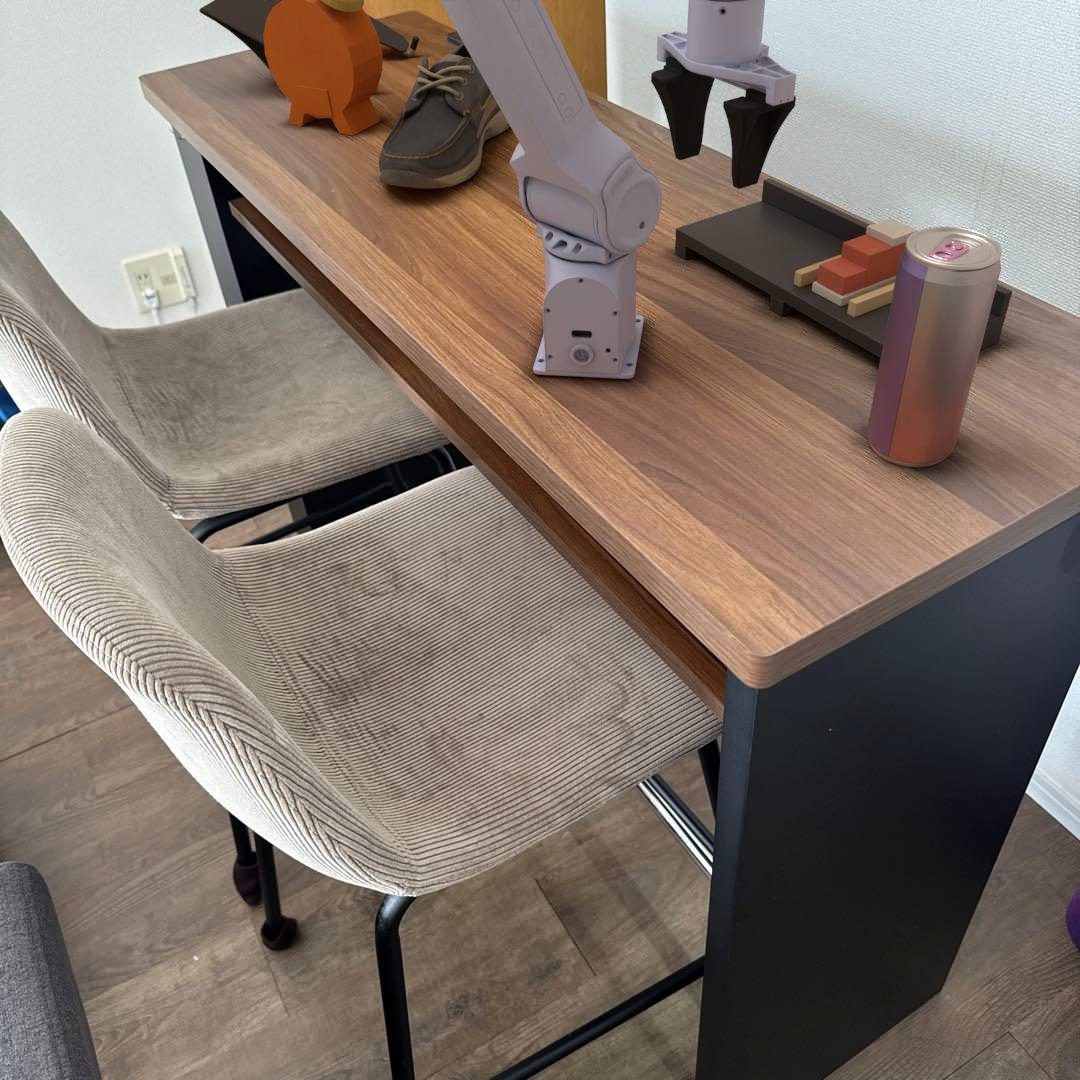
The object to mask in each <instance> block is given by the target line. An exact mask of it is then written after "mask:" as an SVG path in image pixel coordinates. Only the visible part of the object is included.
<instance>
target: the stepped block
mask: <svg viewBox="0 0 1080 1080" xmlns="http://www.w3.org/2000/svg"><path fill="white" fill-rule="evenodd" d="M917 231H918V230H917V229H915V228H914V227H911V226H908V225H906V224H905V223H902V222H900V221H898V220H895V219H893V218H891V217H889V218H886V219H883V220H880V221H878V222H874V223H873V224H869V226H867V230H866V235H863V236H860V237H857V238H855V239H852V240H849V241H846V242H844V243H843V247H842V253H841V257H839V258H836V259H834V260H831V261H828V262H825V263H823V264H820V265H819V271H818V278H817V281H815V282H813V285H812V291H813V292H815V293H817V294H819V295H820V296H822V297H824V298H826V299H828V300H830V301H831V302H833V303H835V304H837V305H839V306H844V305H846V304H849V300H851V299H853V298H856V297H859V296H861V295H864V294H866V293H869V292H872V291H874V290H877V289H879V288H882V287H885V286H887V285H890V284H892V283H895V280H896V275H897V269H898V264H899V259H900V256H901V254H902V252H903V250H904V249H905V244H906V241H907V239H908V237H909V236H910V235H911V234H913V233H915V232H917Z"/></svg>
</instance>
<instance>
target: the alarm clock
mask: <svg viewBox="0 0 1080 1080" xmlns="http://www.w3.org/2000/svg"><path fill="white" fill-rule="evenodd" d="M265 1H266V2H270V1H273V0H265ZM364 4H365V0H282V1H281V2H279V3H278V4H277V5H275V6H274V7H273V8H272V10H271V12H270V13H269V15H268V17H267V19H266V23H265V29H264V35H263V36H264V48H265V55H266V58H267V62H268V65H269V68H270V70H269V71H270V74H271V75H272V77H273V79H274V81H275V83H276V85H277V87H278V88H279V90H280V91H281V93H282V94H283V95H284V96H285V97H286V99H287V100H288V101H289V102H290V103H291V104H290V112H289V119H288V124H289V125H294V126H299V127H302V126H304V125H307V124H309V123H310V122H312V121H315V120H316V119H331V120H332V122H333V124H334V126H335V128H336V130H337V131H338V134H342V135H348V136H354V135H357V134H358V133H360V132H363V131H364V130H366V129H368V128H370V127H371V126H374V125H376V124H378V123H379V122H381V120H380V118H379V115H378V113H377V111H376V109H375V107H374V105H373V103H372V100H371V97H372V95H373V94H374V93H375V92H376V91H377V89H378V87H379V83H380V80H381V78H382V73H383V49H382V46H381V44H380V42H379V38H378V34H377V32H376V30H375V28H374V26H373V24H372V22H371V20H370V18H369V16H370V15H369V14H368V13H367V12H366V11H365V10H364V8H363V7H364ZM367 14H368V15H369V16H368V15H367ZM380 77H381V78H380ZM376 88H377V89H376ZM375 90H376V91H375ZM374 91H375V92H374Z"/></svg>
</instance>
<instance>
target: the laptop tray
mask: <svg viewBox="0 0 1080 1080" xmlns="http://www.w3.org/2000/svg"><path fill="white" fill-rule="evenodd" d="M281 1H282V0H273V1H270V2H266V1H265V0H212V1H210V2H209V3H206V5H204V6H202V7H200V8H199V10H198V11H199V13H200V14H202V15H204V16H205V17H207V18H208V19H210V20H212V21H214V22H215V23H217V24H218V25H220V26H221V27H223V28H224V29H226V30H227V31H229V32H230V33H231V34H233V35H234V36H235V37H236V38H237V39H238V40H240V41H241V42H242V43H243V44H244V45H245V46H247V48H248V49H249V50H250V51H252V52H253V53H254V54H255V56H257V57H258V58H259V60H260V61H261V62H262V63H263V64H264V65H265V67H267V69H268V70H269V71H270V68H269V65H268V62H267V58H266V55H265V48H264V36H263V35H264V29H265V23H266V19H267V17H268V15H269V13H270V12H271V10H272V8H273V7H274V6H275V5H277V4H278V3H279V2H281ZM367 15H368V16H369V18H370V20H371V22H372V24H373V26H374V28H375V30H376V32H377V34H378V38H379V42H380V45H382V46H384V47H387V48H389V49H391V50H393V51H395V52H396V53H399V54H401V55H403V56H405V57H412V56H413V55H414V54H415V53H416V50H417V47H418V45H419V42H420V37H418V36H417V35H414V36H413V37H412V40H411V43H409V41H408V39H407V38H406V37H405V36H403V35H402V34H400V33H399V32H397V31H396V30H395V29H392V28H391V27H389V26H387V25H386V24H384V22H383V23H382V22H381V21H379V20H377V19H376V18H374V17H373V16H371V15H369V14H368V13H367ZM381 78H382V76H381V77H380V79H381ZM377 89H378V87H377V88H376V90H375V91H374V93H375V92H376V91H377Z"/></svg>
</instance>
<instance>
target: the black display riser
mask: <svg viewBox="0 0 1080 1080" xmlns="http://www.w3.org/2000/svg"><path fill="white" fill-rule="evenodd" d="M869 225H870V224H869V223H868V222H865V221H863V220H861V219H859V218H856V217H854V216H852V215H850V214H848V213H846V212H843V211H841V210H839V209H837V208H835V207H833V206H831V205H829V204H827V203H824V202H823V201H820V200H818V199H816V198H814V197H812V196H809V195H807V194H805V193H803V192H800V191H799V190H796V189H794V188H792V187H790V186H788V185H786V184H783V183H782V182H779V181H777V180H775V179H772V178H765V179H763V181H762V194H761V200H760V201H757V202H753V203H749V204H747V205H743V206H741V207H738V208H734V209H732V210H728V211H725V212H722V213H719V214H716V215H713V216H710V217H707V218H704V219H701V220H697V221H695V222H692V223H689V224H686V225H685V224H684V225H683V226H679V227H676V228H675V241H674V254H675V255H677V256H679V257H680V258H682V259H684V260H687V259H691V258H693V257H696V256H701V257H704V258H706V259H707V260H708V261H711V262H712V263H714V264H716V265H718V266H720V267H721V268H723V269H725V270H726V271H728V272H730V273H732V274H733V275H735V276H737V277H738V278H740V279H742V280H743V281H745V282H747V283H749V284H751V285H753V286H754V287H756V288H758V289H759V290H761V291H763V292H765V293H766V294H768V295H770V298H769V299H770V301H769V310H770V311H772V312H774V313H776V314H777V315H779V316H781V317H783V316H786V315H788V314H791V313H794V312H796V311H798V312H800V313H801V314H803V315H805V316H807V317H808V318H810V319H812V320H814V321H816V322H817V323H819V324H821V325H822V326H824V327H825V328H828V329H829V330H831V331H833V332H834V333H835V334H838V335H839V336H842V337H843V338H845V339H847V340H848V341H850V342H852V343H854V344H855V345H857V346H859V347H860V348H862V349H864V350H866V351H868V352H869V353H871V354H873V355H874V356H877V358H880V359H881V354H882V348H883V343H884V338H885V333H886V327H887V322H888V317H889V312H890V306H891V301H892V296H893V290H894V285H895V283H892V284H890V285H887V286H885V287H882V288H879V289H877V290H874V291H872V292H869V293H866V294H864V295H861V296H859V297H856V298H853V299H851V300H849V304H846V305H844V306H839V305H837V304H835V303H833V302H831V301H830V300H828V299H826V298H824V297H822V296H820V295H819V294H817V293H815V292H813V291H812V285H813V282H815V281H817V278H818V271H819V265H820V264H823V263H825V262H828V261H831V260H834V259H836V258H839V257H841V253H842V247H843V243H844V242H846V241H849V240H852V239H855V238H857V237H860V236H863V235H866V230H867V226H869ZM1012 295H1013V290H1012V289H1009V288H1007V287H1005V286H1003V285H1000V284H998V283H997V287H996V291H995V295H994V298H993V302H992V306H991V310H990V314H989V318H988V322H987V326H986V329H985V333H984V337H983V341H982V345H981V349H980V351H981V350H983V349H986V348H988V347H990V346H993V345H995V344H997V343H999V342H1000V338H1001V334H1002V331H1003V327H1004V323H1005V320H1006V317H1007V313H1008V309H1009V305H1010V303H1011V298H1012Z"/></svg>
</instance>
